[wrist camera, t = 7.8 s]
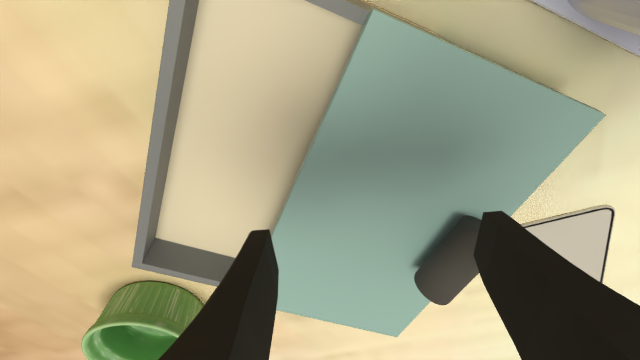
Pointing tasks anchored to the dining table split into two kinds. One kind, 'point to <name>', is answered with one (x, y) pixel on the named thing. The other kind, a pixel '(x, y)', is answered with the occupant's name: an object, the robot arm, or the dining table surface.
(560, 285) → the robot arm
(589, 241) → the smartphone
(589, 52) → the dining table surface
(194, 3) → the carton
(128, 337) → the ramekin
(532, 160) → the lid
